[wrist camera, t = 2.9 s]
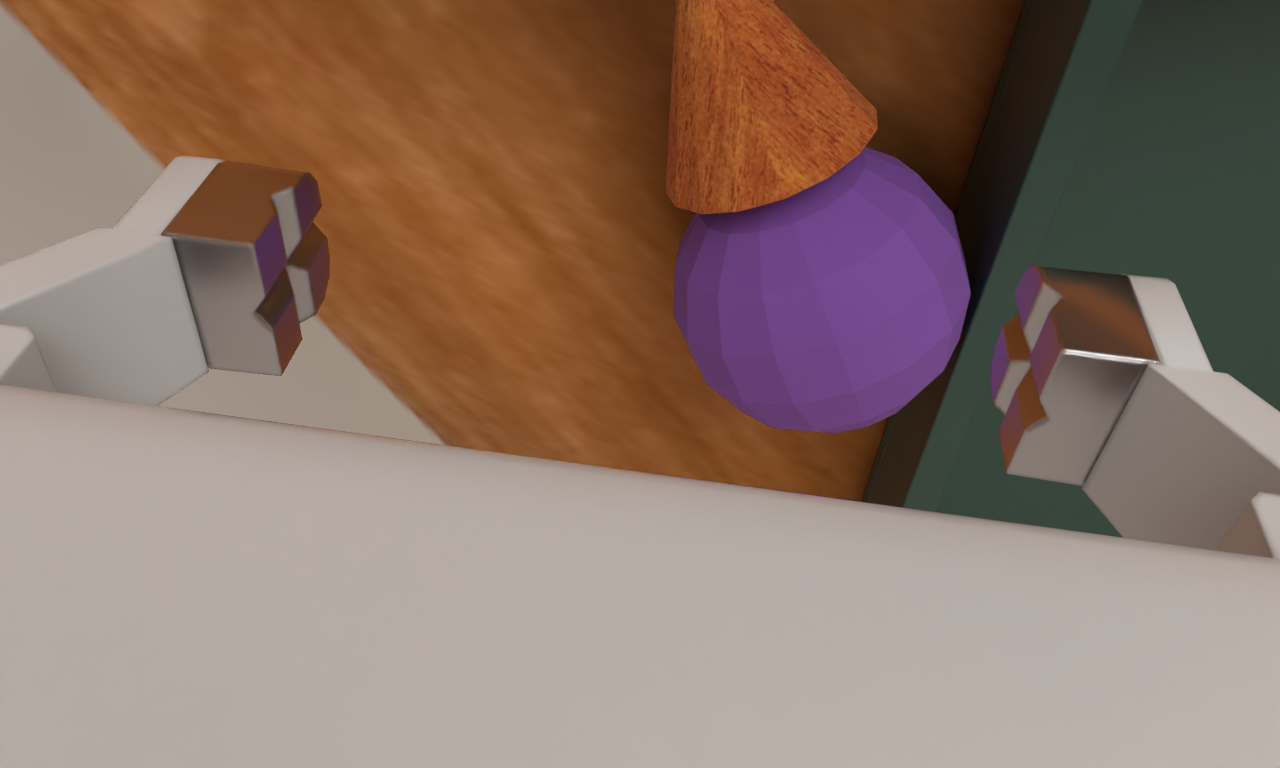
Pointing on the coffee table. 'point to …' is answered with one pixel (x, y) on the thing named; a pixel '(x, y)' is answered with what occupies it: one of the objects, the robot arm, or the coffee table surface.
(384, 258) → the coffee table surface
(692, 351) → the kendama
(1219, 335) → the tray
